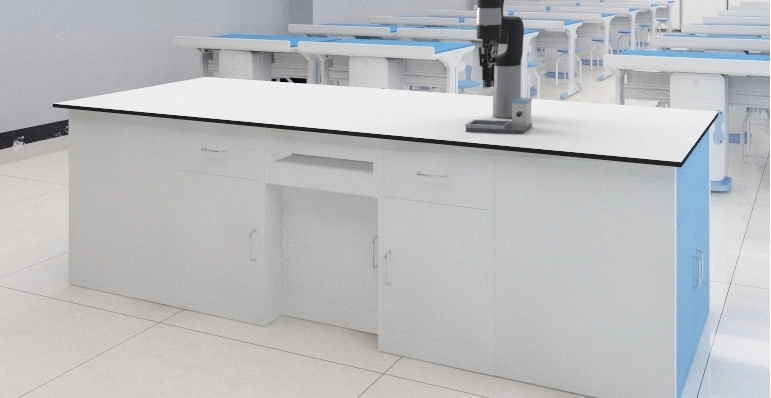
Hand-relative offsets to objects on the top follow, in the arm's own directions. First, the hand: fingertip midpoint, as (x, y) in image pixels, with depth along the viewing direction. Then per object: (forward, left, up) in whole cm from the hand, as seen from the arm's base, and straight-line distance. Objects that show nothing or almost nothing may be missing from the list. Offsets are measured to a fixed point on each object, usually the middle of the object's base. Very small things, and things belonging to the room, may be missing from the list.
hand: (488, 78), depth 287 cm
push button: (+1, 0, -3) cm, 3 cm away
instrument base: (-2, +3, -16) cm, 16 cm away
